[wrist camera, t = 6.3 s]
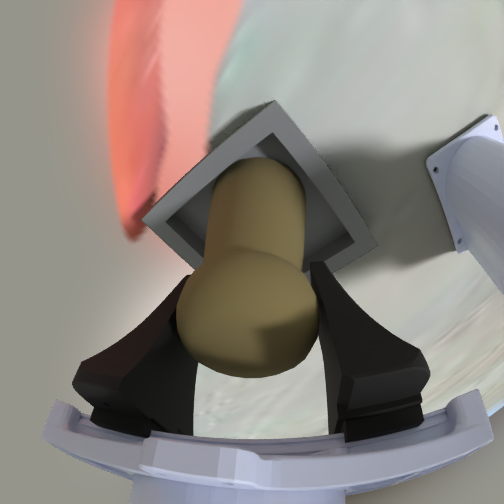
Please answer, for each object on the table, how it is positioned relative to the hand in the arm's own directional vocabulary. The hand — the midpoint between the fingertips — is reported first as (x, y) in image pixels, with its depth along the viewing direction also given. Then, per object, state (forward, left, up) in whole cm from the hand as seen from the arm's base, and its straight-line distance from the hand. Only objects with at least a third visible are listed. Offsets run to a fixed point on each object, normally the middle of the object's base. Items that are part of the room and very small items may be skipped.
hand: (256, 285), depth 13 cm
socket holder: (0, 0, -7) cm, 7 cm away
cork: (+1, -1, -6) cm, 7 cm away
